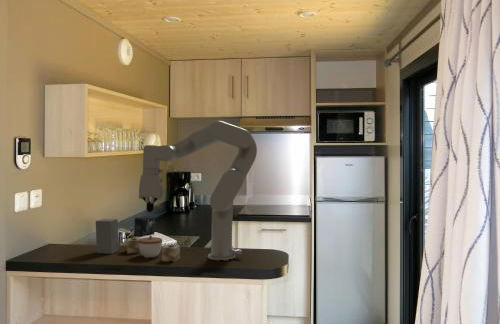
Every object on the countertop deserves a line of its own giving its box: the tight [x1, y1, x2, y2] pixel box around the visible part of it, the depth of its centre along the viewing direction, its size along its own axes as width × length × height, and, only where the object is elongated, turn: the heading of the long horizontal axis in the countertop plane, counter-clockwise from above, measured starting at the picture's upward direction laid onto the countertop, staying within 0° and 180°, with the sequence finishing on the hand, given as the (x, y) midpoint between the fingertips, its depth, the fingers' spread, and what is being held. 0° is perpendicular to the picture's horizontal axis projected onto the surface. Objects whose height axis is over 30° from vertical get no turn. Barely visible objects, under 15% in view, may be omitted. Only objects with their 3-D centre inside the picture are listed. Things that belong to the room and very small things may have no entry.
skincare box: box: [95, 218, 120, 255], centre depth 195 cm, size 8×7×16 cm
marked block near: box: [161, 244, 181, 263], centre depth 183 cm, size 6×6×6 cm
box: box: [133, 215, 156, 238], centre depth 241 cm, size 11×7×10 cm, turn 148°
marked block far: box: [126, 237, 142, 254], centre depth 198 cm, size 6×6×6 cm
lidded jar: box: [138, 235, 163, 259], centre depth 190 cm, size 11×11×9 cm
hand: (150, 211), depth 190 cm, fingers closed
